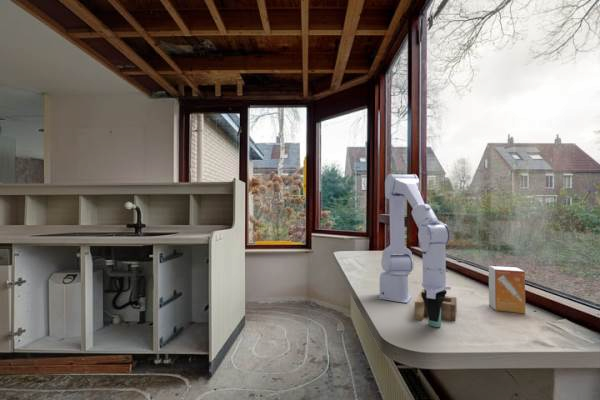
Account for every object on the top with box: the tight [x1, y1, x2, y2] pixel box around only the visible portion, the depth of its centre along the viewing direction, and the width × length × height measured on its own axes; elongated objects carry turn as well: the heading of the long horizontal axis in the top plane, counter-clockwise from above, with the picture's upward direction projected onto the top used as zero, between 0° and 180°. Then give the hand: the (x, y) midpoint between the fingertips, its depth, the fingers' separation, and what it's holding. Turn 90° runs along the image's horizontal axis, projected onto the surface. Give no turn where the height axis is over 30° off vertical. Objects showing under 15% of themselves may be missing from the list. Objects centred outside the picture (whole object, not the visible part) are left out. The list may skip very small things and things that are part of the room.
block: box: [424, 295, 458, 322], centre depth 86 cm, size 8×8×4 cm
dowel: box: [427, 309, 442, 328], centre depth 77 cm, size 3×3×7 cm
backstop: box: [414, 288, 425, 321], centre depth 88 cm, size 2×15×5 cm, turn 149°
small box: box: [488, 265, 526, 314], centre depth 91 cm, size 8×6×13 cm
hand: (434, 318), depth 77 cm, fingers closed on dowel, 3 cm apart
